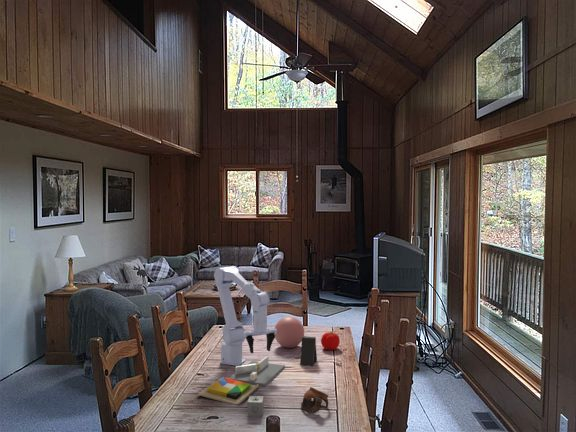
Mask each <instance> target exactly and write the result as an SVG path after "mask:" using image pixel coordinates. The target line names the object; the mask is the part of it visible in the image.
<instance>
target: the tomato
mask: <svg viewBox="0 0 576 432" xmlns="http://www.w3.org/2000/svg"><path fill="white" fill-rule="evenodd" d="M340 340H341V338H340V336H339V334H337V333H335V332H332V331H329V332H325V333H324V334H322V336H321V339H320V344H321V346H322V348H324V350H330V351H332V350H336V349H338V347H339V345H340V342H341V341H340Z"/></svg>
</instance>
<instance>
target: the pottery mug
mask: <svg viewBox="0 0 576 432" xmlns="http://www.w3.org/2000/svg"><path fill="white" fill-rule="evenodd" d="M328 397H329V394H327V393H325V392H323V391H321V390H318V389H317V388H314V387H312V386H310V387H309V389H308V390H306V392H304V394H303V398H302V402H300V409H301V410H302V411H303V412H305V413H308V414H309V415H310V414H311V412H312V411H313V412H314V413H317V412H320V411H319V410H320V408H321V406H322V403H323V402H324V403H325V408H328V407H329V400H328Z"/></svg>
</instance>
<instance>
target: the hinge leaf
mask: <svg viewBox="0 0 576 432" xmlns="http://www.w3.org/2000/svg"><path fill="white" fill-rule="evenodd" d="M248 364H249V363H248ZM248 364H245V365H243V364H242V365H239V366H234V367H235V368H234V369H235V372H234V373H235V374H236V375H239V374H245V373H252V372H256V369H259V366H257V367H256V364H249V365H248Z"/></svg>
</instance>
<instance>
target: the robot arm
mask: <svg viewBox="0 0 576 432" xmlns="http://www.w3.org/2000/svg"><path fill="white" fill-rule="evenodd" d="M213 277H214V281H215V286H216V287H217V292H218V296H219V299H220V304H221V305H220V306H221V308H222V312H223V317H224V321H225V324H224V326H223V327H222V328H221V330H222V340H223V343H222V344H221V346H220V362H219V364H223V365H230V366H231V365H232V366H234V367H236V366H241V365H243V363H244V362H246V358H243V343H244V341H245V340H246V341H247V344H248V348H249V352H250V354H254V341H255V339H254V337H256V336H264V335H265V336H266V351H268V352H270V351H271V349H272V344H273V342H274V340H275V335H274V334H277V329H275V327H274V328H268V305H269V304H270V302H271V298H270V295H269V293H268V292H267V291H262V290H261V289H260V288H259V287H257V286H256V285H255V284H254V283H253V282H248V281H247V280H246V279H245V278H244V277H243V275H242V274H240V270H239V269H238V268H237V267H236V266H234V265H232V266H226V267H217V268H216V269H215V270H214V273H213ZM233 283H235V284H236V285H238V287H240V288H241V289H242V293H243V294H244V295H245V296H246V297H247V298H248V299H250V302H251V306H252V310H253V329H251V330H247V331H246V328H245V327H244V325H243V322H240V321H239V320H238V319H237V314H236V310H235V306H234V301H233V298H232V294H231V290H230V287H231V286H232V285H233Z"/></svg>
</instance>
